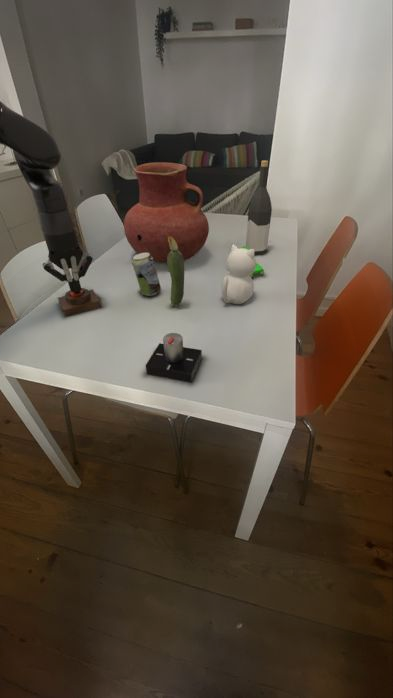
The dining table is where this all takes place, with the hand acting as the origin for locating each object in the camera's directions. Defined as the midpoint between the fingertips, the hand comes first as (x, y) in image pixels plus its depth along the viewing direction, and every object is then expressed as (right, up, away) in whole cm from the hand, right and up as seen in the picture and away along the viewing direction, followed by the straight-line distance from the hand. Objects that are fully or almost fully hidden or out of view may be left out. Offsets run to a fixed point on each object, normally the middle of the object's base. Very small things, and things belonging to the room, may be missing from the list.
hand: (76, 292), depth 88 cm
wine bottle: (+56, +21, +33) cm, 69 cm away
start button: (0, -1, +1) cm, 2 cm away
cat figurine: (+45, -2, +4) cm, 45 cm away
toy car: (+50, +10, +19) cm, 55 cm away
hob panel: (+29, -20, -19) cm, 40 cm away
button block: (0, -4, +3) cm, 4 cm away
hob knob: (+29, -18, -21) cm, 40 cm away
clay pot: (+23, +18, +30) cm, 42 cm away
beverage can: (+19, +1, +8) cm, 21 cm away
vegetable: (+28, -4, +1) cm, 29 cm away
